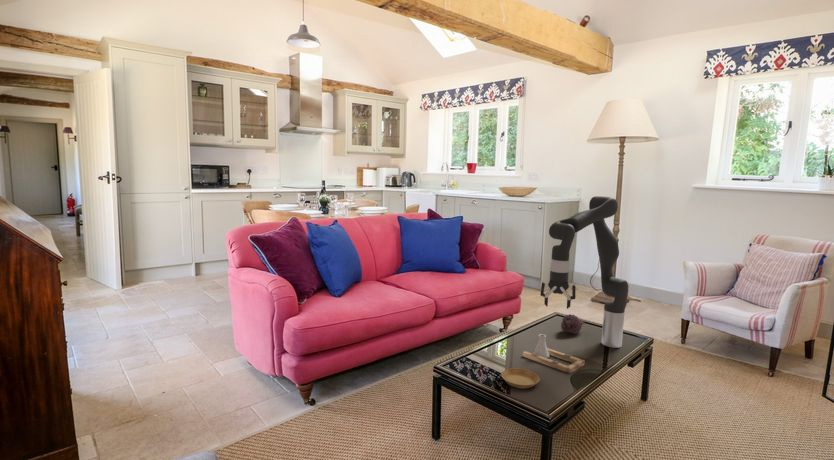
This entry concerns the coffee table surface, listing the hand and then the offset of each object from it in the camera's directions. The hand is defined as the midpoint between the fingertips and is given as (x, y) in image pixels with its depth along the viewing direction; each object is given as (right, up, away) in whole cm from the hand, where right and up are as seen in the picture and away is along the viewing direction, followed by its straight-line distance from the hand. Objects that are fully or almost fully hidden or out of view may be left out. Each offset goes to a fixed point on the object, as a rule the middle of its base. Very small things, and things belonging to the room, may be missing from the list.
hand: (557, 307), depth 191 cm
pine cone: (+20, -21, +43) cm, 52 cm away
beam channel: (0, -25, +8) cm, 26 cm away
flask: (-4, -25, +12) cm, 28 cm away
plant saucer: (-19, -28, -14) cm, 37 cm away
